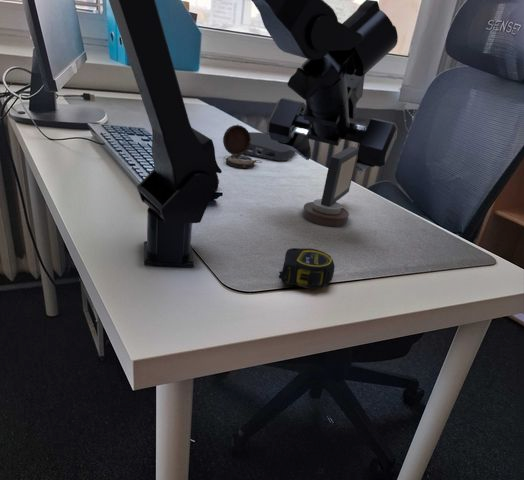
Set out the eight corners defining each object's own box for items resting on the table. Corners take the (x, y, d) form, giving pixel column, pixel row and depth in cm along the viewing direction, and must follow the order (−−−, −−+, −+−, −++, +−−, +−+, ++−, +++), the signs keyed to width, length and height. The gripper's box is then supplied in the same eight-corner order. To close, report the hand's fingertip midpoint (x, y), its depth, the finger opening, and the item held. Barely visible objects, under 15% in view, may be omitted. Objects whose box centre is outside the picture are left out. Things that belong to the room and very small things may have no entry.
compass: (230, 168, 108) (234, 132, 104) (220, 157, 114) (223, 122, 110) (265, 170, 110) (270, 134, 106) (254, 159, 116) (258, 125, 112)
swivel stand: (353, 228, 88) (355, 219, 87) (309, 225, 86) (310, 216, 85) (338, 211, 95) (340, 203, 94) (297, 208, 93) (299, 200, 92)
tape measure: (283, 266, 71) (287, 241, 69) (331, 276, 71) (337, 251, 69) (276, 288, 66) (280, 261, 64) (328, 299, 65) (335, 272, 63)
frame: (335, 217, 87) (347, 162, 82) (308, 209, 88) (318, 155, 83) (355, 199, 97) (368, 150, 92) (331, 193, 98) (341, 143, 93)
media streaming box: (298, 151, 129) (300, 139, 127) (284, 163, 117) (286, 150, 115) (243, 139, 131) (245, 127, 129) (224, 150, 119) (225, 137, 117)
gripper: (414, 59, 68) (407, 135, 83) (287, 35, 73) (301, 111, 88) (384, 130, 66) (382, 195, 81) (256, 100, 71) (275, 166, 86)
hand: (334, 164), depth 84 cm, fingers open, 9 cm apart
